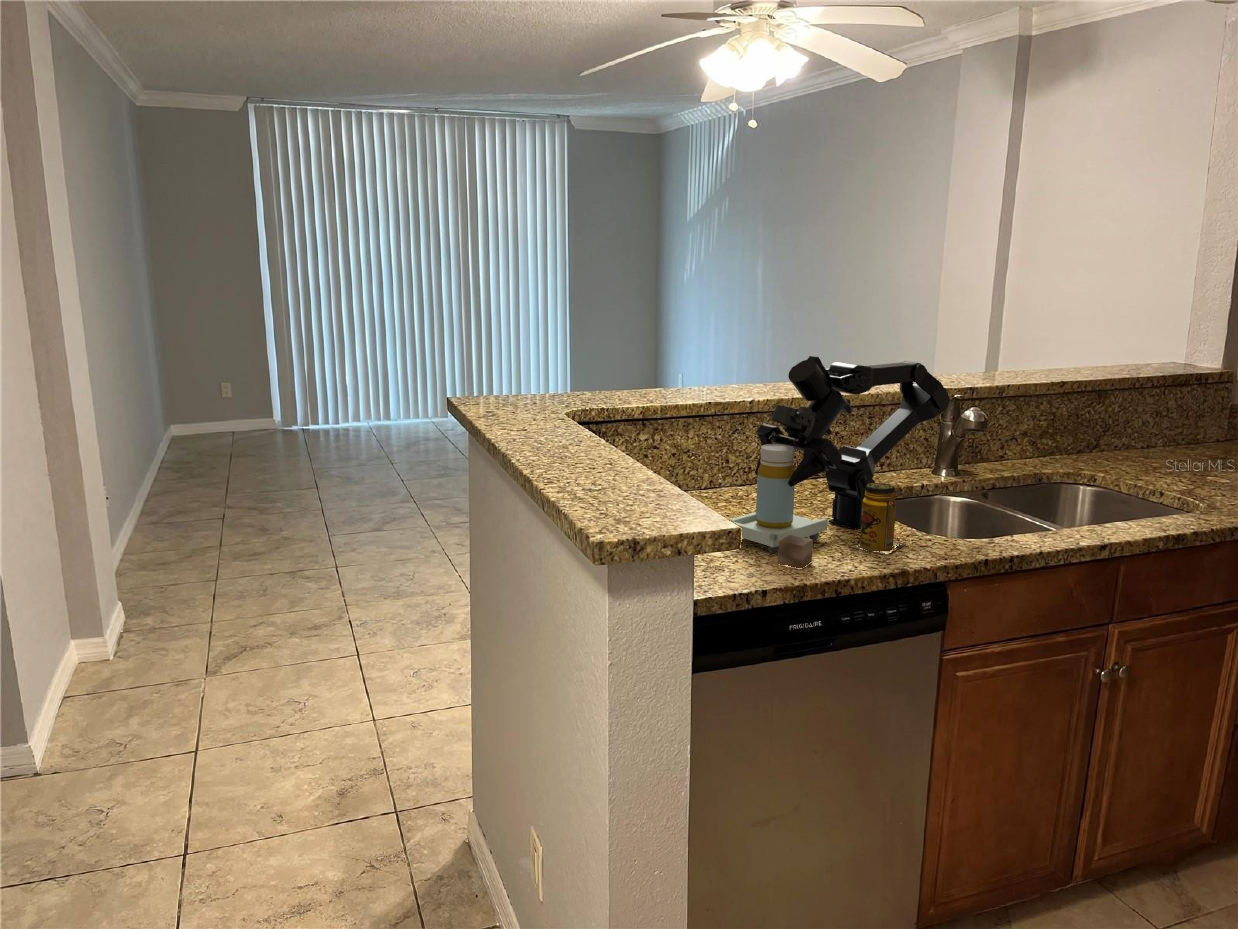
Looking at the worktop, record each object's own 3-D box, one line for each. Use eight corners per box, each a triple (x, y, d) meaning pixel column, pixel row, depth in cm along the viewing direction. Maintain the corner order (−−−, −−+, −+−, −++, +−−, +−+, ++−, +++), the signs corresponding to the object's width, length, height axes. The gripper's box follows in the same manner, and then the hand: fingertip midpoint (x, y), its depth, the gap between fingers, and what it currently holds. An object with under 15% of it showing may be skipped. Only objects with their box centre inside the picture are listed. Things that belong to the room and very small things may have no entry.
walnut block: (811, 563, 164) (813, 539, 163) (801, 570, 161) (802, 546, 160) (788, 558, 167) (789, 534, 166) (777, 565, 163) (778, 541, 162)
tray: (826, 539, 178) (827, 519, 177) (772, 556, 167) (773, 535, 166) (777, 525, 186) (778, 505, 185) (723, 540, 176) (724, 520, 175)
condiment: (850, 548, 173) (854, 485, 170) (870, 537, 179) (875, 477, 176) (887, 556, 168) (892, 492, 165) (906, 545, 174) (911, 483, 172)
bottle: (800, 524, 176) (804, 447, 173) (776, 531, 172) (780, 453, 168) (771, 516, 181) (774, 441, 178) (748, 523, 177) (751, 446, 174)
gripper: (765, 382, 180) (718, 444, 177) (834, 396, 164) (785, 464, 161) (793, 418, 186) (748, 479, 183) (863, 435, 170) (815, 501, 167)
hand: (772, 479), depth 173 cm, fingers open, 9 cm apart
